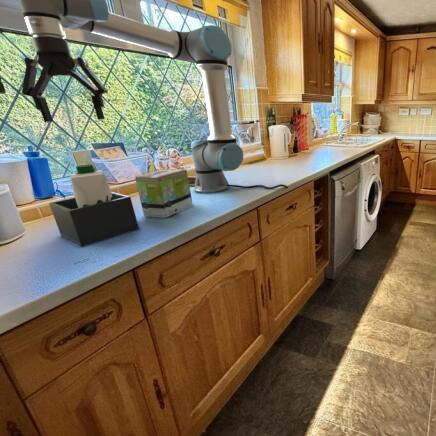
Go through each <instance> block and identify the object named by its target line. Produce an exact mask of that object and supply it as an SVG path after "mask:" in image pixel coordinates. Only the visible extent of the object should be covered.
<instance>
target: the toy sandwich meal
mask: <svg viewBox="0 0 436 436" xmlns="http://www.w3.org/2000/svg"><path fill="white" fill-rule="evenodd" d="M188 181H189V187H195V181H196V175H188Z"/></svg>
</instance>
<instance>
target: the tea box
mask: <svg viewBox="0 0 436 436" xmlns="http://www.w3.org/2000/svg"><path fill="white" fill-rule="evenodd" d="M188 176H189V175H188V171H187V169H184V168H183V169H180V168H177V169H175V168H165V169H161V170H156V171H151V172H149V173H145V174H141V175H137V176H135V177H134V178H135V183H136V187H137V192H138V196H139V201H140V205H141V210H142V213H143V216H144V217H147V218H164V219H166V218H169V217H170V216H172V215H174V214H177V213H179V212H181V211H183V210H185V209H188V208H190V207H193V204H194V203H193V198H192V193H191V188H190V187H191V186H189V181H188Z"/></svg>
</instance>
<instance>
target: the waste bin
mask: <svg viewBox="0 0 436 436" xmlns="http://www.w3.org/2000/svg"><path fill="white" fill-rule="evenodd" d="M111 194H112V197H113V200H111V201H107V202H103V203H98V204H94V205H90V206H85V207H81V208H78V205H77V202H76V199H75V197H70V198H67V199H62V200H57V201H51V202H48V203H49V206H50V210H51V212H52V215H53V218H54V220H55V223H56V227H57V229H58V231H59V234H60V236H61V237H62V238H64V239H66V240H67V241H70V242H71V243H73V244H75V245H77V246H79V247H81V248H83V247H86V246H89V245H92V244H96V243H99V242H102V241H105V240H108V239H111V238H114V237H118V236H121V235H124V234H127V233H130V232H133V231H136V230H140V228H139V224H138V220H137V216H136V212H135V209H134V205H133V201H132V198H131V196H130V195H125V194H123V193H118V192H114V191H111Z"/></svg>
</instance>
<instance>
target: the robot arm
mask: <svg viewBox="0 0 436 436" xmlns="http://www.w3.org/2000/svg"><path fill="white" fill-rule="evenodd" d="M18 3H19V6H20V9H21V12H22V15H23V19H24V21H25V24H26V27H27V30H28V33H29V35H30V36H32V38H31V42H32V45H33V49H34V51H35V53H36V55H37V58H36V59H35V58H30V57H24V63H25V70H24V76H23V82H22V88H21V94H22V95H24V96H28V97H31V98H32V100H33V103H34V105H35V108H36V109H37V110H39V111H40V113H41V116H42V119H43V121H44V123H50V122H51V123H52V122H54V119H53V117H52V113H51V110H50V108H49V104H48V101H47V99H46V97H43V94H44V92H45V90H46V89H47V86H48V85H49V83H50V82H51V79H53V77H72V78H73V79H75V80H76V81H77V82H78V83H79V84H80V85H82V86H83V87H84V88H85V89H87V90H88V91H89V92H90V93H91V94H92V95H90V98H91V101H92V105H93V107H94V112H95V115H96V118H97V120H105V115H104V112H103V108H105V103H104V99H103V95H104V94H107V93H109V91H108V89H107V88H106V86H105V85H104V83H102V81H101V80H100V79H99V78H98V76H97V75H96V74H95V73H94V71H93V70H92V69H91V67H90V65H89V64H88V61H87V60H86V58H84V57H79V56H78V57H77V58H73V56H72V51H71V49H70V45H69V42H68V40H66V38H67V35H66V32H65V30H69V31H75V30H80V31H84V32H89V33H91V34H95V35H100V36H103V37H106V38H110V39H115V40H118V41H121V42H126V43H128V44H133V45H137V46H140V47H144V48H147V49H151V50H154V51H158V52H161V53H165V54H168V55H169V57H170V58H173V59H177V60H181V61H185V62H188V63H192V64H196V67H197V68H198V69H199V70H200V72H201V78H202V85H203V91H204V99H205V105H206V106H205V107H206V112H207V113H206V114H207V121H208V126H209V133H210V134H209V135H208V137H207V138H206V139H205V138H204V139H198V140H193V141H191V143H190V147H191V154H192V159H193V163H194V164H193V165H194V170H195V176H196V181H195V186H194V192H195V193H198V194H215V193H221V192H224V191H227V190H228V189H229V188H240V189H253V188H264V189H266V190H274V189H277V188H280V187H284V188H285V189H288V188H289V186H287V185H285V184H277V185H274V186H266V185H263V184H255V185H239V184H238V185H237V184H229V181H228V179H227V177H226V175H225V174H224V172H232V171H235V170H237V169H239V168H240V166H241V165H242V164H243V161H244V151H243V149H242V147H240V145H239V144H238V143H237V137H236V136H235V135H234V134H233V132H232V131H233V130H232V123H231V114H230V107H229V105H230V104H229V98H228V91H227V90H228V88H227V82H226V74H225V73H226V70H227V69H228V68H229V64H228V59H229V58H230V57H231V55H232V51H233V50H232V43H231V40H230V38H229V35H228V34H227V33H226V32H225V30H223V29H222V28H221V27H219V26H217V25H215V24H214V25H213V24H209V25H203V26H201V27H199V28H196V29H193V30H190V31H179V30H175V29H170V30H166V29H163V28H160V27H158V26H157V27H156V26H153V25H150V24H148V23H144V22H141V21H138V20H135V19H132V18H129V17H125V16H123V15H119V14H116V13H113V12H110V11H109V6H108V2H107V0H18ZM76 65H77V67H79V68H81V70H82V72H83V73H84V74H85V75H86V77H87V78H88V79H89V80H90V81H88V80H87V79H86V78H85V77H83V76H82V75H81V73H80V72H78V71H77V70H76V69H75V67H76ZM39 67H41V68H42V69H41V71H40V75H39V77H38V79H37V80H36V78H37V75H38V74H37V73H38V68H39Z"/></svg>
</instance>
